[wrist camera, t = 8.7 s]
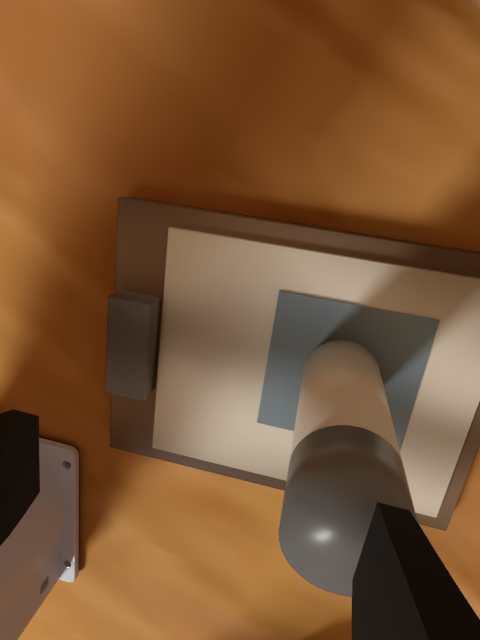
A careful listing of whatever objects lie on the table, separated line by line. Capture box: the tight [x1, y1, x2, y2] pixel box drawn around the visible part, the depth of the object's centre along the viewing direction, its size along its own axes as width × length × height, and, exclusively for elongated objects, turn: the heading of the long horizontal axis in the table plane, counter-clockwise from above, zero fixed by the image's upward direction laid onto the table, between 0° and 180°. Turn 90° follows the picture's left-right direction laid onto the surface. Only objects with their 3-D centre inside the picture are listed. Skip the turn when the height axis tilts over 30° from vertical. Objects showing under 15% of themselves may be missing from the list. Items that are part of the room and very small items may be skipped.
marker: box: [279, 340, 418, 597], centre depth 13 cm, size 3×3×8 cm
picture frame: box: [106, 197, 480, 531], centre depth 18 cm, size 12×16×2 cm
